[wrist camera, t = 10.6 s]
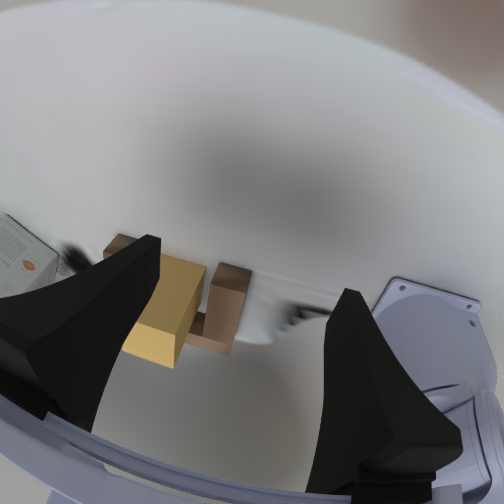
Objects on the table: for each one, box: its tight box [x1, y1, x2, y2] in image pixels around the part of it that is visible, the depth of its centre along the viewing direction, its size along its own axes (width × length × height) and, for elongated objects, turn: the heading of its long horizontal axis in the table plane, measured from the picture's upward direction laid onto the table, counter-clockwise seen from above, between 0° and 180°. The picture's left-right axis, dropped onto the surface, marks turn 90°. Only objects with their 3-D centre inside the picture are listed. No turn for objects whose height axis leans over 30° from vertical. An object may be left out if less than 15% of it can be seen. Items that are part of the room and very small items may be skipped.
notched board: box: [103, 234, 252, 355], centre depth 25 cm, size 11×8×2 cm
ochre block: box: [122, 254, 206, 368], centre depth 23 cm, size 4×4×7 cm
